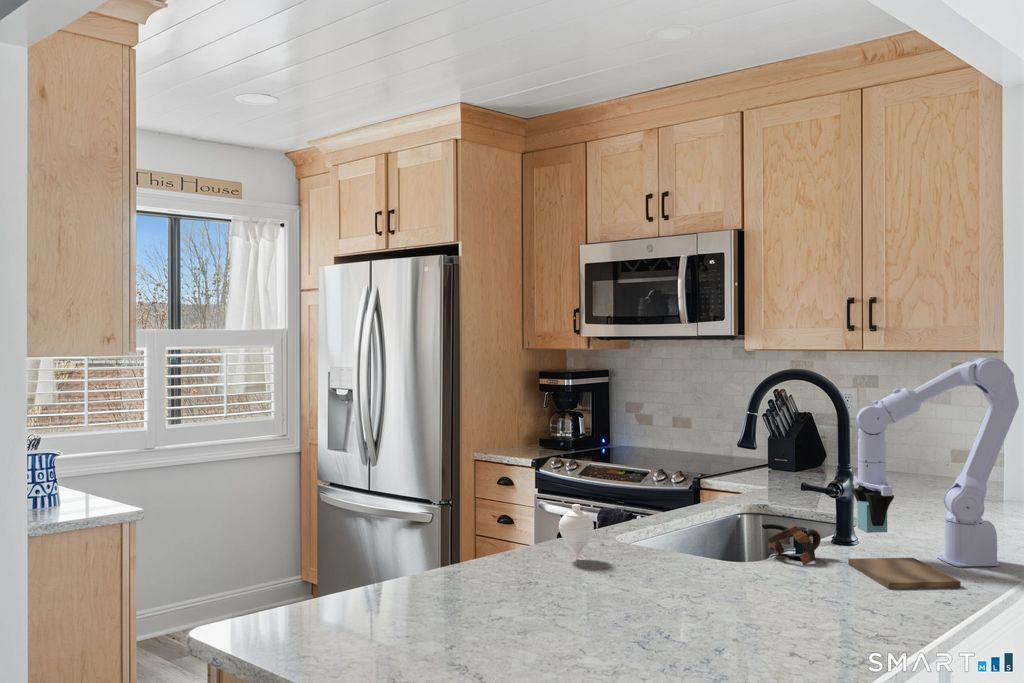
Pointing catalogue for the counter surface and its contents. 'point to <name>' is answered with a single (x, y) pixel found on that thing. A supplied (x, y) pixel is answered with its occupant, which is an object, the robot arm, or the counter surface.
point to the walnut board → (903, 573)
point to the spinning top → (576, 529)
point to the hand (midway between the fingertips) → (872, 523)
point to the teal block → (868, 519)
